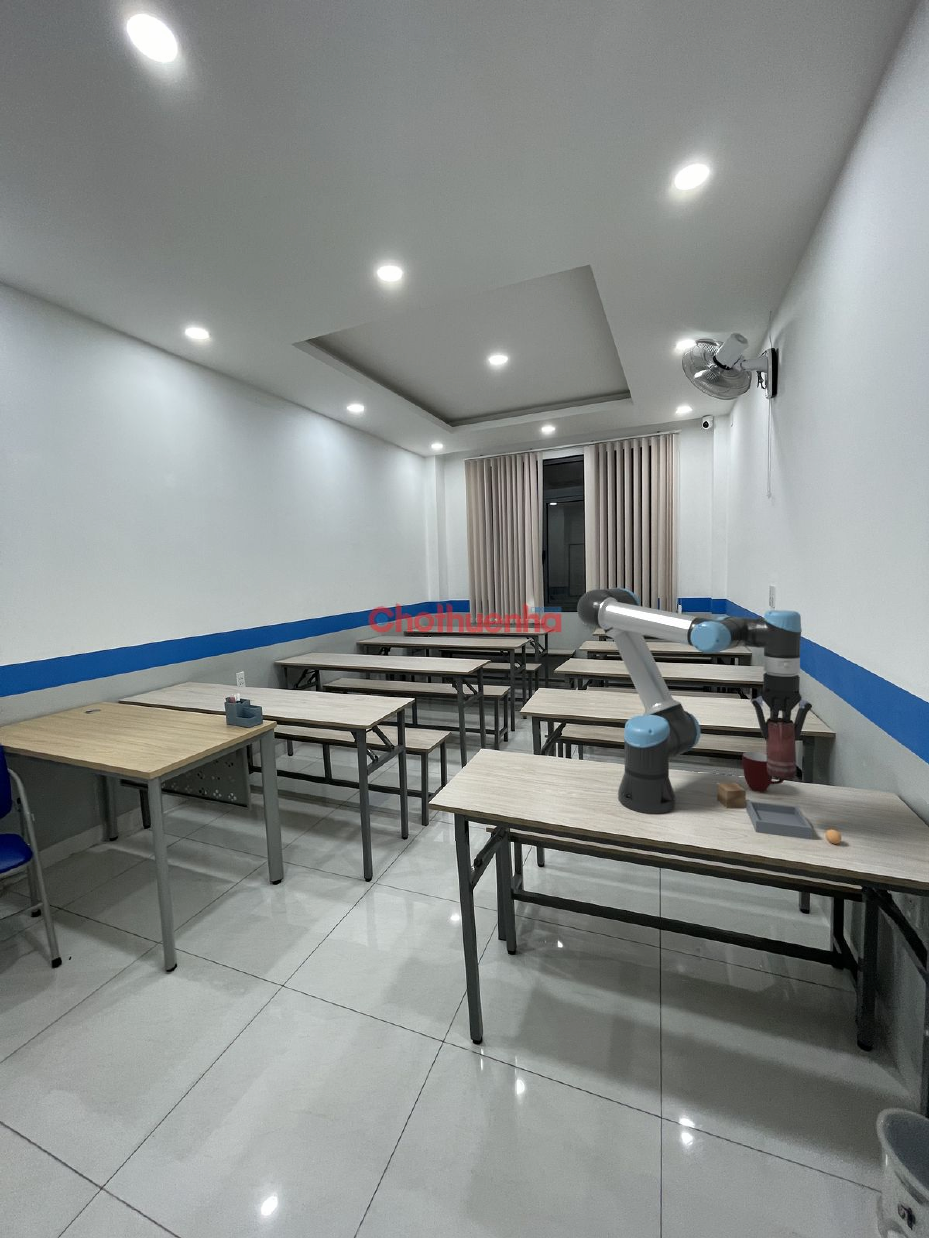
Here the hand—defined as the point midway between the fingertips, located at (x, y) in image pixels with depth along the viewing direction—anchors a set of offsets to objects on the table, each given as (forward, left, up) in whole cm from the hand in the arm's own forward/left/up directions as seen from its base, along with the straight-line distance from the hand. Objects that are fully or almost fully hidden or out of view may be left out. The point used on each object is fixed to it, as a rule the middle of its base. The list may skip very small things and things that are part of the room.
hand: (778, 766), depth 122 cm
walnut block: (-9, +9, -15) cm, 20 cm away
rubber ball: (+10, -6, -14) cm, 18 cm away
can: (+1, 0, -2) cm, 2 cm away
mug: (+1, +21, -15) cm, 26 cm away
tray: (0, 0, -15) cm, 15 cm away
